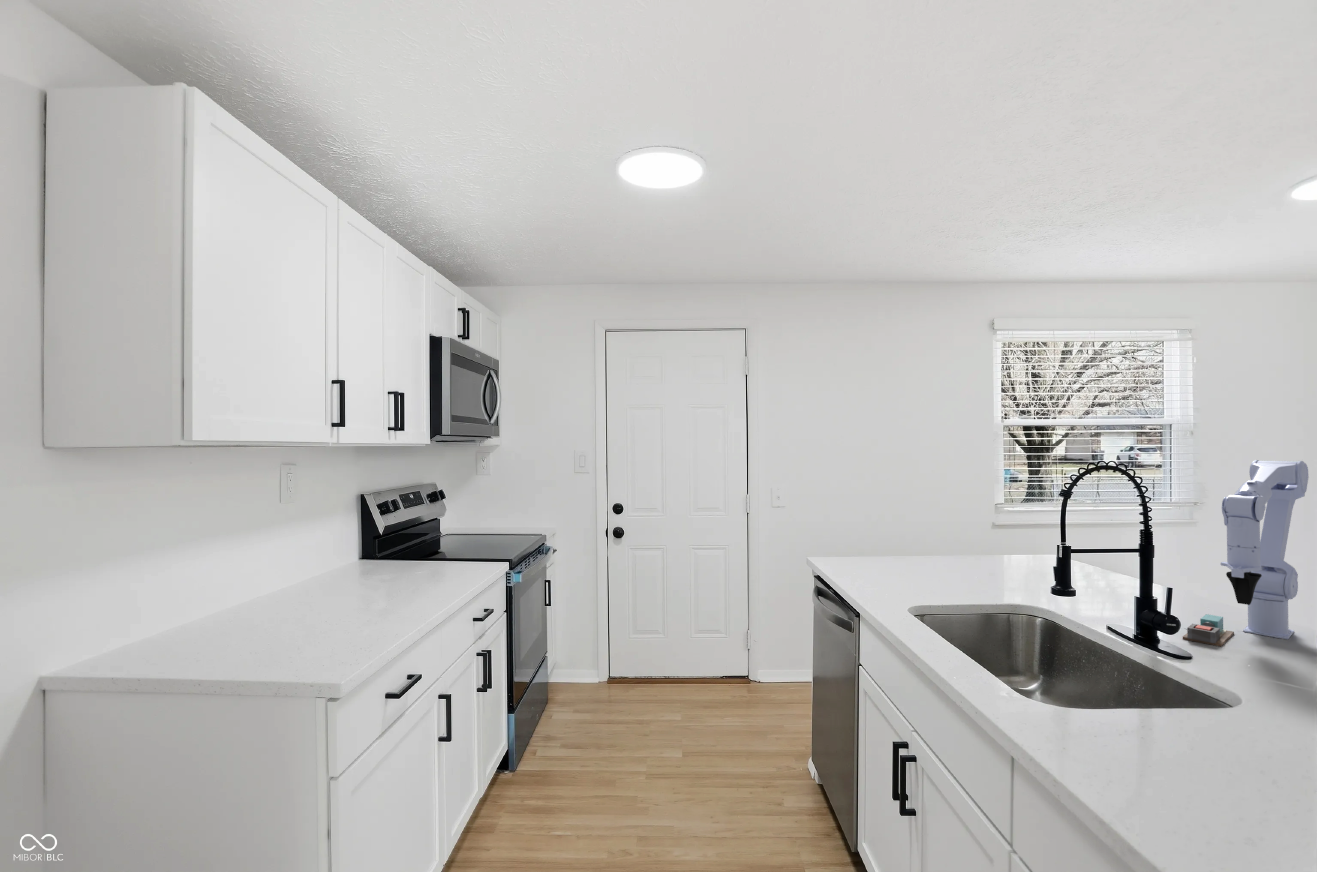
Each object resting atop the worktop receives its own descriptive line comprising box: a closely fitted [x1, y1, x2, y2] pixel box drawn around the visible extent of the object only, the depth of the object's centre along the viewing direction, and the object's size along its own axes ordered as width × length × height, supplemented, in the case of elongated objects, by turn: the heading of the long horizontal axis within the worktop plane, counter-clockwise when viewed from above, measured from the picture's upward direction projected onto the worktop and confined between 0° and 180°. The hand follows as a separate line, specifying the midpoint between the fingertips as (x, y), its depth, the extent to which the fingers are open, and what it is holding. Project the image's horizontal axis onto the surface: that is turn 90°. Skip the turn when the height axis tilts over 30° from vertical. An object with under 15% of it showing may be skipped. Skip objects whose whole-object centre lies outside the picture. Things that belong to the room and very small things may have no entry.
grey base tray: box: [1182, 623, 1235, 647], centre depth 151 cm, size 14×7×3 cm, turn 128°
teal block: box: [1199, 613, 1224, 632], centre depth 153 cm, size 8×3×3 cm, turn 128°
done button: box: [1195, 624, 1212, 631], centre depth 148 cm, size 3×3×2 cm
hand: (1244, 603), depth 146 cm, fingers closed
